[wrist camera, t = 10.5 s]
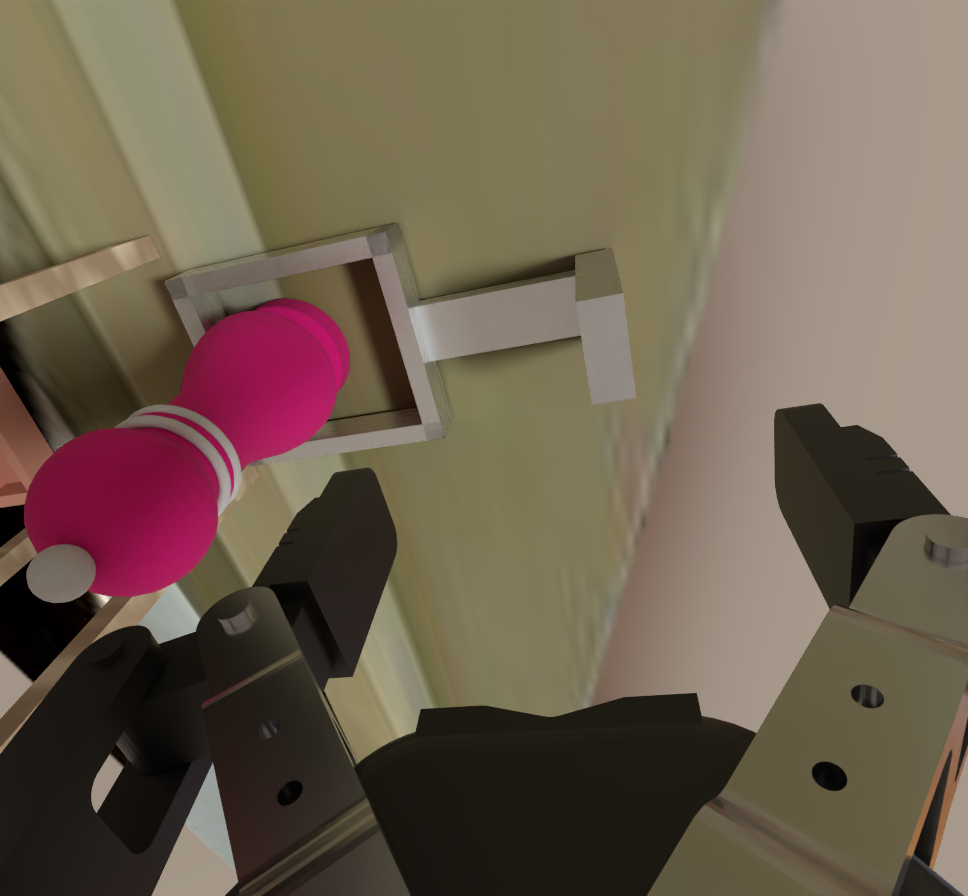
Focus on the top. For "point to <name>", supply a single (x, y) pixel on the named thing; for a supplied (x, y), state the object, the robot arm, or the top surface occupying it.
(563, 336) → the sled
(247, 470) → the shelf tunnel
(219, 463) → the pepper mill
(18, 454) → the pit tray
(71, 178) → the top surface
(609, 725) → the robot arm
